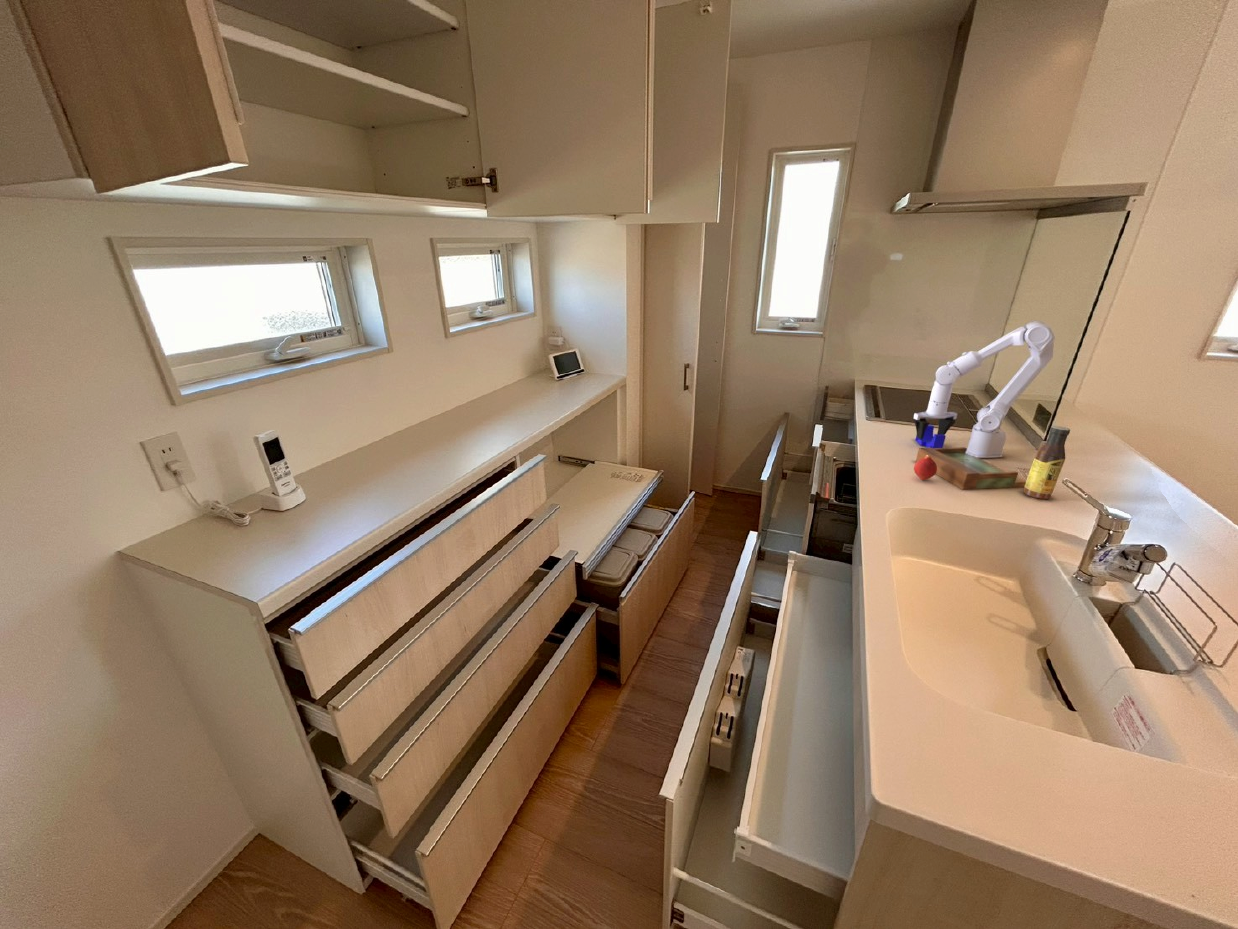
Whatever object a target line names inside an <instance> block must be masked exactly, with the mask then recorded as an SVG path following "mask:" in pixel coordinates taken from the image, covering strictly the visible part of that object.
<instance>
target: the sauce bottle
mask: <svg viewBox="0 0 1238 929" xmlns="http://www.w3.org/2000/svg"><path fill="white" fill-rule="evenodd" d="M1070 433H1071V429H1070V428H1069V427H1065V426H1061V425H1052V426H1050V429H1049V434H1048V437H1047V438H1046V442H1045V443H1043V444H1041V446H1039V447H1038V449H1037V451H1036V454H1035V456H1034V459H1033V461H1032V464H1031V466H1030V469H1029V472H1028V475H1027V478H1026V480H1025V481H1026V483H1025V486H1024V488H1023V494H1025V495H1026V496H1029V497H1032V498H1033V499H1040V500H1041V499H1042V500H1046V499H1047V500H1048V499H1049V498H1050V497H1051V496H1052V494H1053V492H1054V490H1055V487H1056V485H1057V482H1058V479H1059V477H1060V474H1061V473H1062V472H1061V471H1062V469H1063V466H1064V464H1065V461H1066V447H1065V446H1066V441H1067V438H1068V436H1069V435H1070Z"/></svg>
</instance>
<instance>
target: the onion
mask: <svg viewBox="0 0 1238 929" xmlns="http://www.w3.org/2000/svg"><path fill="white" fill-rule="evenodd" d="M913 471H914V474H915V475H916V476H917V477H918V478H919V480H921V481H925V480H929V479H931V478H934V476H935V475H937V474H936V472H937V466H936V463H935V462H934V461H933V460H932V459H931V458H930V456H929V455H926V457H925V458H922V459H920V460H918V461H917V462H916V461H915V463H914V466H913Z"/></svg>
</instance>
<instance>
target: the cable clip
mask: <svg viewBox="0 0 1238 929" xmlns="http://www.w3.org/2000/svg"><path fill="white" fill-rule="evenodd" d="M934 429H935V426H934V425H933V424H929V425H928V426H927V428H926V430H925V433H924V437H923V439H922V440H920V439H918V438H917V434H915V439H914V440H915V442H916V443H917V444H918V445H920V446H921V447H925V448H929V447H931V448H944V445H945V441H946V437H947V436H946V434H945V435H941V434H937V433H934Z"/></svg>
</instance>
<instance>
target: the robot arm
mask: <svg viewBox="0 0 1238 929" xmlns="http://www.w3.org/2000/svg"><path fill="white" fill-rule="evenodd" d="M1055 339H1056V337H1055V334H1054V332H1053V329H1052V327H1051V326H1049V325H1048V324H1046V323H1045V322H1043V321H1041V320H1035V321H1030V322H1028V323H1027V324H1026V325H1024V326H1020V327H1018V328H1016V329H1014V330H1012V331H1010V332H1008V333H1006V334H1005V335H1003V336H1001V337H1000V338H998V339H996V340H994V341H993V342H991V343H989V344H988V345H986V346H985V347H983V348H981V349H980V350H978V351H975V350H970V351H964V352H963V353H961V356H959V357H956V359H954V360H952V361H951V360H950V361H947V363H946V364H944V365H941V366H940V367H939V368H938V369H937V370H936V371H935V380H934V382H933V386H932V388H931V393H930V398H929V401H928V405H927V409H926V410H925V411H921V412H914V413H913V423H914V425H915V430H916V435H917V438H918V439H920V440H922V439H923V437H924V433H925V430H926V428H927V426H928V425H930V422H928V421H927V420H938V429H937V433H936V434H941V435H945V436H946V434H947V433H948V431H949V430H950V428H951V427H952V426H954V425H955V424H956V419H957V417H958V413H957V412H954V411H948V407H949V404H950V400H951V396H952V392H953V386H954V383H955V382H956V380H957V379H958V378H959V377H963V376H965V375H967V374H969V373H970V372H972V371H974V370H975V369H977V368H979V367H982V365H983V362H984V360H986V359H988V358H990V357H992V356H994V355H996V354H998V353H1000V352H1002V351H1004V350H1006V349H1008V348H1010V347H1014V346H1016V347H1017V346H1025V343H1026V344H1027V347H1028V351H1029V354H1030V356H1029V357H1028V358H1027V360H1026V361H1025V362H1024V363H1023V364H1022V365H1021V367H1020V368H1019V370H1018V371H1017V372H1015V374H1014V375H1013V376H1012V377H1011V379H1010V380H1009V381H1008V382H1007V384H1006V385H1005V386H1004V387H1003V388H1002V389H1001V391H1000V392H999V393H998V394H997V395H996V397H995V398H994V399H992V400H991V401H990V402H989V403H988V404H987V405H986V406H984V407H982V408H980V409H979V410H978V411H977V413H976V420H977V422H976V424H973V427H972V430H971V433H970V437H969V440H968V444H967V447H966V448H967V449H966V453H967V454H969V455H971V456H975V457H977V458H979V459H989V458H990V459H991V458H993V459H994V458H1003V455H1002V453H1003V451H1004V447H1005V443H1006V440H1007V434H1006V432H1005V431H1004V429H1001V426H1002V424H1003V420H1004V418H1005V417H1006V416H1007V414H1008V412H1009V410H1010V408H1011V407H1012V405H1013V404H1014V403H1016V401H1017V400H1018V399H1019V397H1020V396H1021V395H1022V394H1023V393H1024V392H1025V390H1026V389H1027V388H1028V387H1029V386H1030V385H1031V384H1032V382H1033V381H1035V379H1036V378H1037V377H1038V375H1039V374H1040V373H1041V372H1042V371H1043V369H1044V368H1045V367H1046V366H1047V365H1048V364H1049V363H1050V361H1052V359H1053V357H1054V343H1055Z"/></svg>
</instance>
